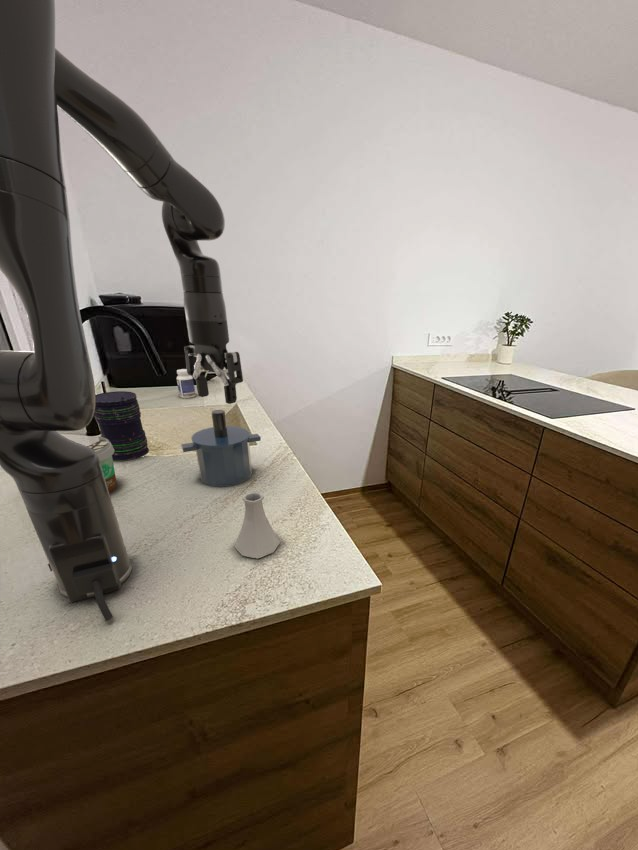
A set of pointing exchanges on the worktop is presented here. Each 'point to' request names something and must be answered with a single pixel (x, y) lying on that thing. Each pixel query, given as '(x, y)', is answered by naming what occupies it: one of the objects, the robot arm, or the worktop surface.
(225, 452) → the two-handled cooking pot
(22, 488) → the robot arm
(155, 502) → the worktop surface
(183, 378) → the pill bottle
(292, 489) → the worktop surface
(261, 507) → the flask
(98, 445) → the food container
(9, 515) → the worktop surface
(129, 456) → the storage jar
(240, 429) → the pot lid
